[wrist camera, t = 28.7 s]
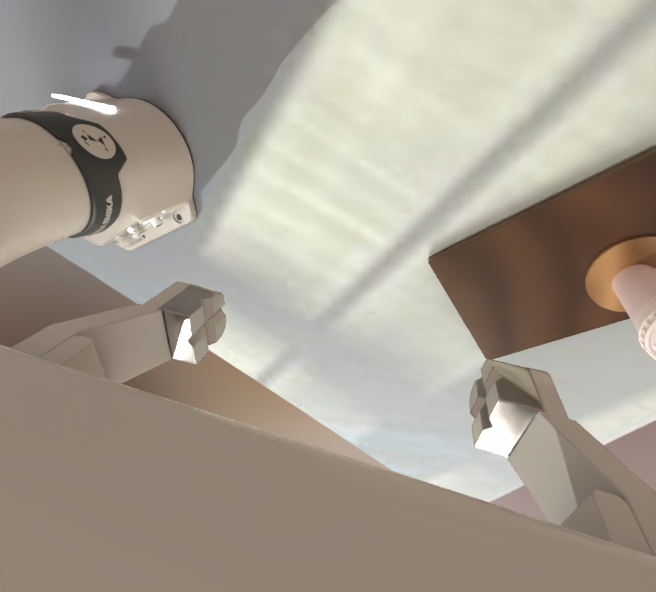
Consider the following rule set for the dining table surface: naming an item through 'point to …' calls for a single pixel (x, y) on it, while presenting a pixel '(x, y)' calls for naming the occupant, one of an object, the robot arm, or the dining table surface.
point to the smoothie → (639, 301)
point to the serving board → (554, 261)
